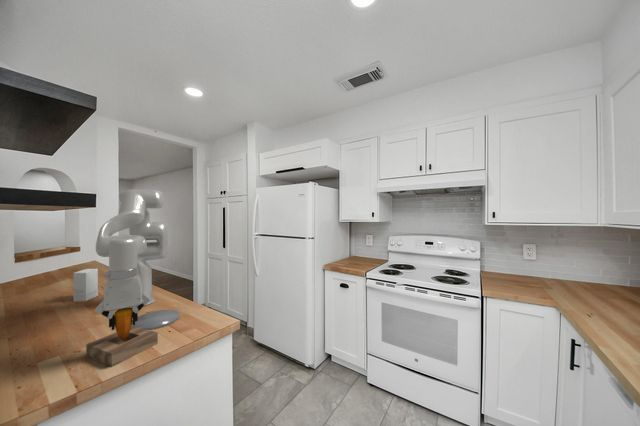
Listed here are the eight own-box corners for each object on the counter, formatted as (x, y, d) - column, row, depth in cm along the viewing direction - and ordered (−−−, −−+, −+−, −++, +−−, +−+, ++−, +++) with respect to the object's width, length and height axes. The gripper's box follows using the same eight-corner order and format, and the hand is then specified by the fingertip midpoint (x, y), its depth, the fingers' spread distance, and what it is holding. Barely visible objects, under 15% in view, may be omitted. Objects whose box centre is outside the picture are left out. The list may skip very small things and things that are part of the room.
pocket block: (86, 356, 78) (86, 344, 78) (133, 335, 91) (133, 325, 91) (111, 366, 73) (111, 353, 73) (157, 343, 86) (157, 332, 86)
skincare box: (86, 296, 134) (86, 268, 134) (99, 295, 134) (99, 268, 134) (72, 301, 125) (72, 272, 125) (86, 301, 126) (86, 272, 126)
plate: (119, 325, 99) (119, 323, 99) (162, 309, 116) (162, 307, 116) (148, 334, 93) (148, 331, 93) (188, 315, 109) (188, 313, 109)
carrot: (113, 341, 83) (113, 298, 82) (131, 335, 86) (131, 294, 86) (115, 346, 79) (115, 302, 79) (134, 340, 83) (134, 298, 83)
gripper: (87, 280, 74) (88, 338, 74) (154, 272, 85) (154, 323, 85) (91, 275, 80) (91, 329, 80) (152, 268, 90) (152, 315, 91)
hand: (123, 325), depth 83 cm, fingers closed on carrot, 4 cm apart
